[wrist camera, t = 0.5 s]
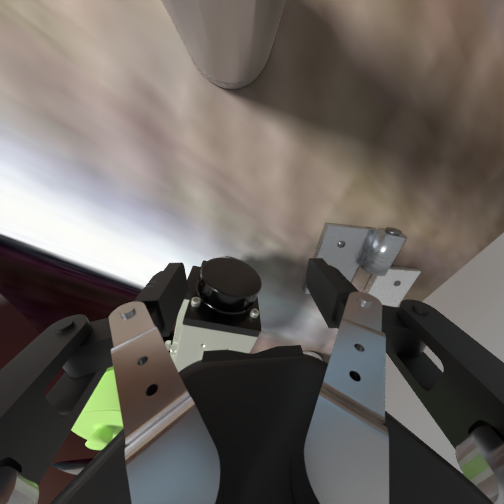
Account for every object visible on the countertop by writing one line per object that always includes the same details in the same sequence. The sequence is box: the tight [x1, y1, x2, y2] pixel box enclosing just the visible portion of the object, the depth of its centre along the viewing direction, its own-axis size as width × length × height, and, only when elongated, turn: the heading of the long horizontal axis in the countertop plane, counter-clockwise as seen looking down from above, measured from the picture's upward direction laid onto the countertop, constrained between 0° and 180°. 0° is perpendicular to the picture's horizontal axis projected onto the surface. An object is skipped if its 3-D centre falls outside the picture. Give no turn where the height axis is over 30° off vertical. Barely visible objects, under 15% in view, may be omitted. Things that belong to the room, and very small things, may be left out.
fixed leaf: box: [303, 223, 407, 294], centre depth 32 cm, size 15×12×4 cm
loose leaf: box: [363, 266, 421, 307], centre depth 36 cm, size 14×12×4 cm
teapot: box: [71, 338, 163, 450], centre depth 35 cm, size 25×22×16 cm
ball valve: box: [165, 257, 261, 372], centre depth 26 cm, size 18×8×18 cm, turn 162°
